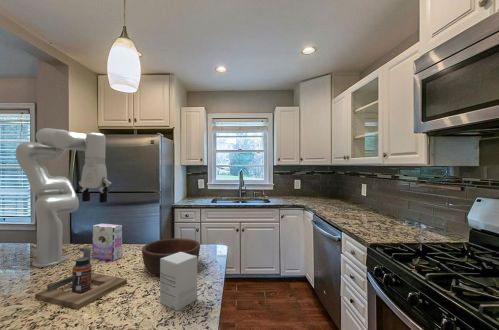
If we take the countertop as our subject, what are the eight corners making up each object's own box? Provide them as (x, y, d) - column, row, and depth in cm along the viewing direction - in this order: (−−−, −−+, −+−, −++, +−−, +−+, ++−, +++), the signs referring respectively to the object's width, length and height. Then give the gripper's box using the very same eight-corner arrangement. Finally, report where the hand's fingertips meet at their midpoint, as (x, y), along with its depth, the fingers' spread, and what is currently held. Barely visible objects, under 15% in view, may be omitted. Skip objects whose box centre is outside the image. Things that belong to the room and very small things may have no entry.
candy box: (122, 257, 129) (123, 224, 129) (112, 261, 124) (113, 227, 124) (101, 254, 134) (102, 222, 134) (91, 258, 128) (91, 225, 128)
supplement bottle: (81, 294, 91) (82, 262, 92) (67, 292, 93) (68, 261, 93) (95, 287, 97) (95, 256, 97) (81, 285, 98) (82, 255, 99)
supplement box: (180, 292, 93) (180, 250, 94) (197, 299, 88) (198, 255, 89) (158, 303, 86) (159, 257, 86) (176, 311, 81) (177, 263, 81)
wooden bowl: (135, 282, 102) (136, 256, 102) (147, 260, 126) (147, 239, 126) (200, 277, 107) (200, 252, 107) (199, 257, 131) (199, 237, 131)
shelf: (32, 297, 89) (32, 262, 89) (85, 275, 108) (86, 246, 108) (77, 309, 82) (78, 271, 82) (126, 283, 101) (127, 252, 101)
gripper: (72, 161, 110) (71, 201, 110) (103, 161, 105) (102, 203, 104) (88, 162, 117) (87, 199, 117) (117, 162, 112) (117, 201, 112)
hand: (94, 201), depth 111 cm, fingers open, 9 cm apart
